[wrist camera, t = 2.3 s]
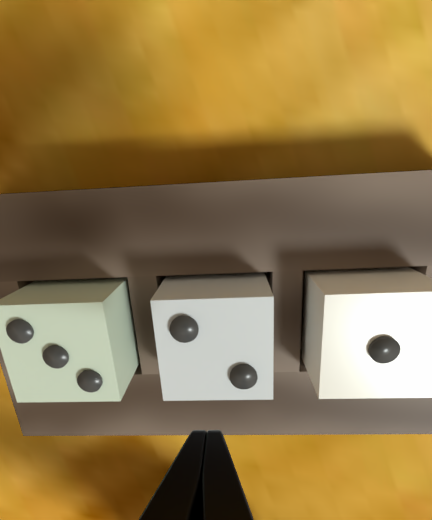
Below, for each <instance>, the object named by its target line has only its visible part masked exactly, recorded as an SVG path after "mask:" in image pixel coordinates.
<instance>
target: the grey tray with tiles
mask: <svg viewBox="0 0 432 520" xmlns="http://www.w3.org/2000/svg"><path fill="white" fill-rule="evenodd" d="M396 267H409V268H412V269H414V270H416V271H418V272H420V273H422V274H424V275H426V276H428V277H430V278H432V170H419V171H401V172H384V173H366V174H348V175H330V176H312V177H295V178H277V179H259V180H241V181H223V182H206V183H188V184H170V185H152V186H134V187H117V188H99V189H81V190H63V191H45V192H27V193H10V194H0V299H1V298H3V297H5V296H7V295H9V294H11V293H13V292H15V291H17V290H19V289H21V288H23V287H24V286H26V285H28V284H30V283H32V282H34V281H48V280H75V279H102V278H128V285H129V291H130V298H131V305H132V311H133V318H134V324H135V331H136V337H137V344H138V351H139V357H140V363H139V365H138V367H137V369H136V371H135V373H134V375H133V377H132V379H131V381H130V383H129V385H128V387H127V389H126V391H125V393H124V395H123V397H122V399H121V401H107V402H21V403H17V400H16V397H15V394H14V391H13V388H12V384H11V381H10V378H9V375H8V371H7V368H6V365H5V362H4V359H3V355H2V352H1V349H0V363H1V367H2V370H3V373H4V376H5V379H6V382H7V386H8V389H9V392H10V395H11V398H12V401H13V405H14V408H15V411H16V414H17V417H18V420H19V424H20V427H21V430H22V433H23V436H86V435H190V433H191V432H192V431H193V430H205V431H206V432H207V431H208V430H221V431H222V433H223V435H308V434H432V398H366V399H319V398H318V396H317V394H316V391H315V389H314V386H313V384H312V382H311V379H310V377H309V374H308V372H307V370H306V367H305V365H304V362H303V360H302V357H301V356H302V329H303V301H304V274H305V271H316V270H343V269H370V268H396ZM262 272H264V273H265V276H266V278H267V281H268V283H269V286H270V288H271V291H272V293H273V296H274V356H273V400H193V401H163V395H162V387H161V380H160V372H159V364H158V357H157V349H156V341H155V334H154V326H153V319H152V311H151V303H150V300H151V299H152V297H153V295H154V294H155V292H156V291H157V289H158V288H159V286H160V285H161V283H162V282H163V280H164V279H165V277H166V276H182V275H209V274H236V273H262Z"/></svg>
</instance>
